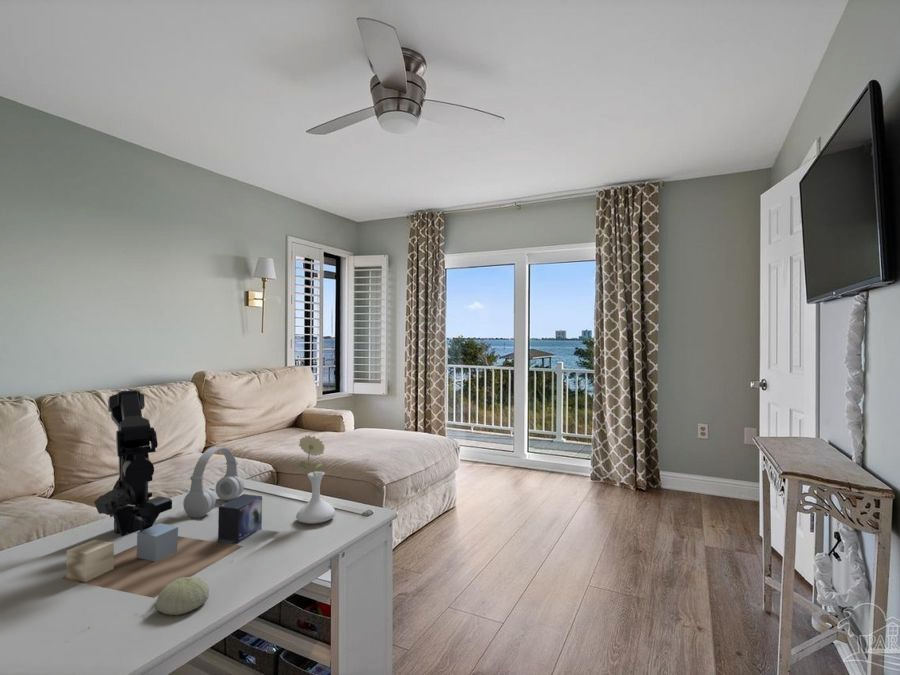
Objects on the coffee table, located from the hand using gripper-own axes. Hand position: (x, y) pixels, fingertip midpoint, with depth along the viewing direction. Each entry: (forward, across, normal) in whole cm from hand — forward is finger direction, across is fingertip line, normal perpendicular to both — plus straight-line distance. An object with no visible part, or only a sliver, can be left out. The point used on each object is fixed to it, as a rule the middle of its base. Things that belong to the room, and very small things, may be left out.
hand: (133, 537), depth 115 cm
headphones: (+5, -8, +34) cm, 35 cm away
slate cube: (+3, +8, 0) cm, 8 cm away
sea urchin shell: (+5, +31, -13) cm, 34 cm away
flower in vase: (+4, +29, +34) cm, 45 cm away
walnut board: (+4, +11, -2) cm, 12 cm away
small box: (+5, +18, +16) cm, 25 cm away
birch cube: (+3, +2, -11) cm, 12 cm away
